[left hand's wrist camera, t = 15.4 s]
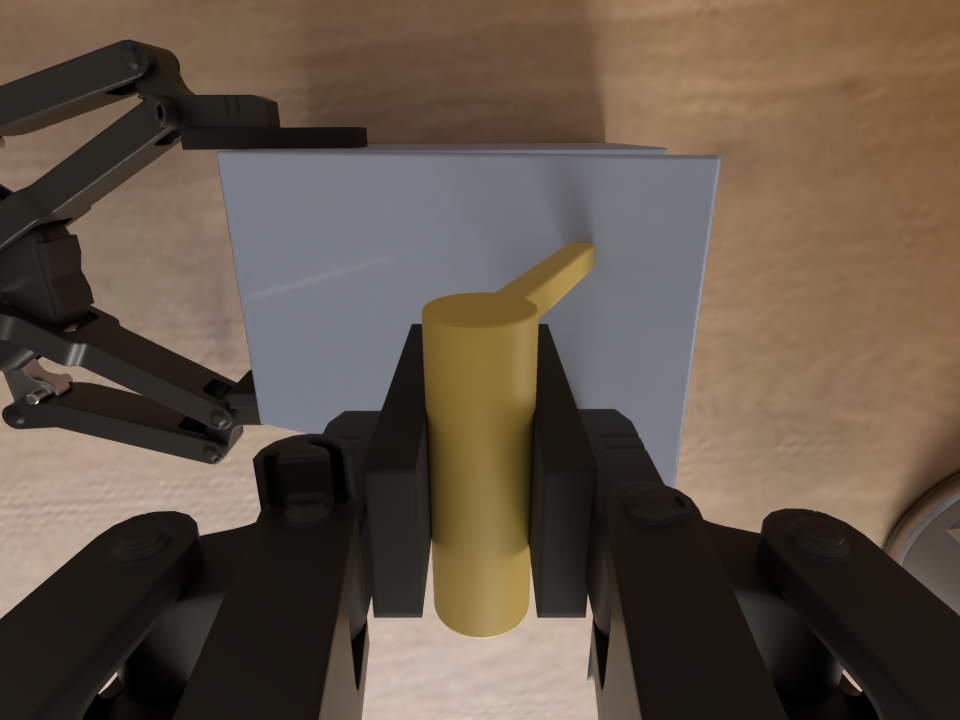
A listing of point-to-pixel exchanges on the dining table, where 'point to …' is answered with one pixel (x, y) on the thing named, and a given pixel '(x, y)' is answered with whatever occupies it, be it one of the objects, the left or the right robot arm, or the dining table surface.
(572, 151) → the chest
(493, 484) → the lid
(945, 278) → the dining table surface
